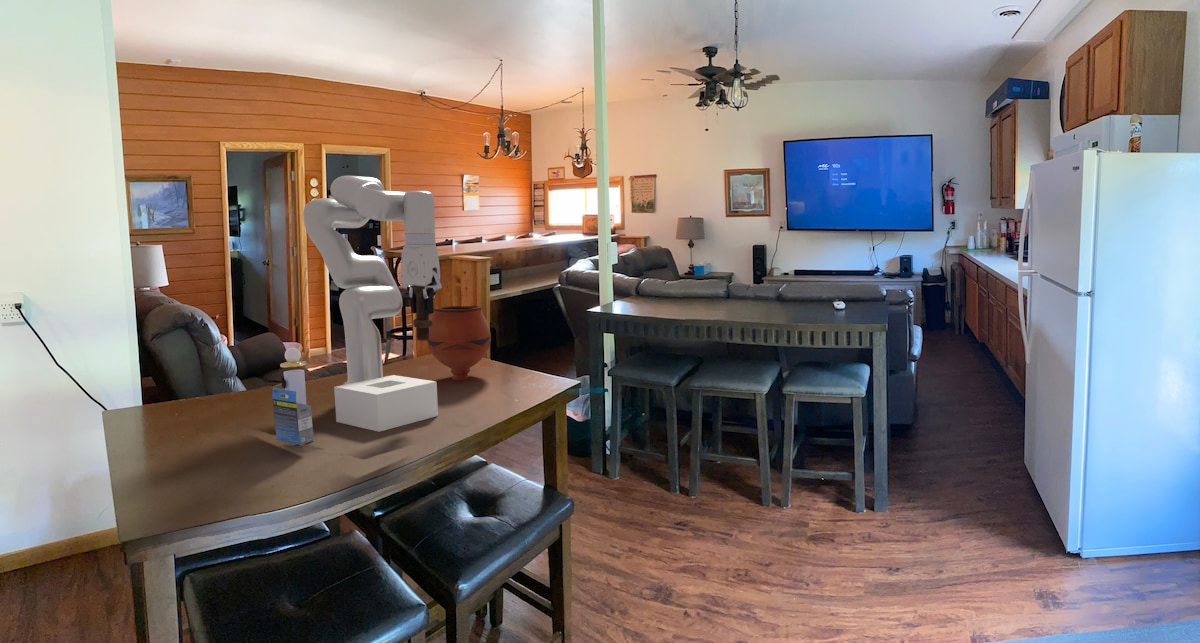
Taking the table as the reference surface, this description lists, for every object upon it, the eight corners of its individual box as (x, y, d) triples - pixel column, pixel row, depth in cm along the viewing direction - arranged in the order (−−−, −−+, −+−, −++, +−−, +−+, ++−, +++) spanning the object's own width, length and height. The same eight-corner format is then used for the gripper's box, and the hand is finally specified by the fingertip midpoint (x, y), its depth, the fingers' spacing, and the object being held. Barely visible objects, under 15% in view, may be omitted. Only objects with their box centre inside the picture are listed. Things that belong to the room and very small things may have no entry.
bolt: (421, 342, 174) (420, 283, 171) (407, 340, 176) (406, 282, 174) (438, 339, 178) (437, 282, 176) (424, 337, 181) (424, 280, 179)
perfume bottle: (310, 424, 172) (305, 344, 170) (310, 429, 167) (305, 348, 164) (285, 427, 170) (279, 346, 167) (284, 432, 164) (278, 349, 162)
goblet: (505, 385, 216) (502, 305, 213) (454, 396, 201) (451, 311, 199) (466, 378, 228) (463, 303, 225) (417, 388, 214) (413, 308, 211)
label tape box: (314, 441, 157) (311, 387, 156) (299, 445, 154) (295, 391, 152) (290, 436, 161) (286, 384, 160) (274, 440, 158) (270, 387, 157)
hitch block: (336, 421, 174) (334, 386, 173) (395, 407, 188) (393, 375, 187) (379, 431, 164) (377, 394, 163) (438, 415, 178) (436, 381, 177)
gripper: (386, 241, 176) (389, 312, 178) (431, 241, 166) (433, 316, 169) (410, 240, 182) (412, 310, 184) (454, 240, 172) (456, 313, 175)
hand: (422, 312), depth 176 cm, fingers closed on bolt, 3 cm apart
